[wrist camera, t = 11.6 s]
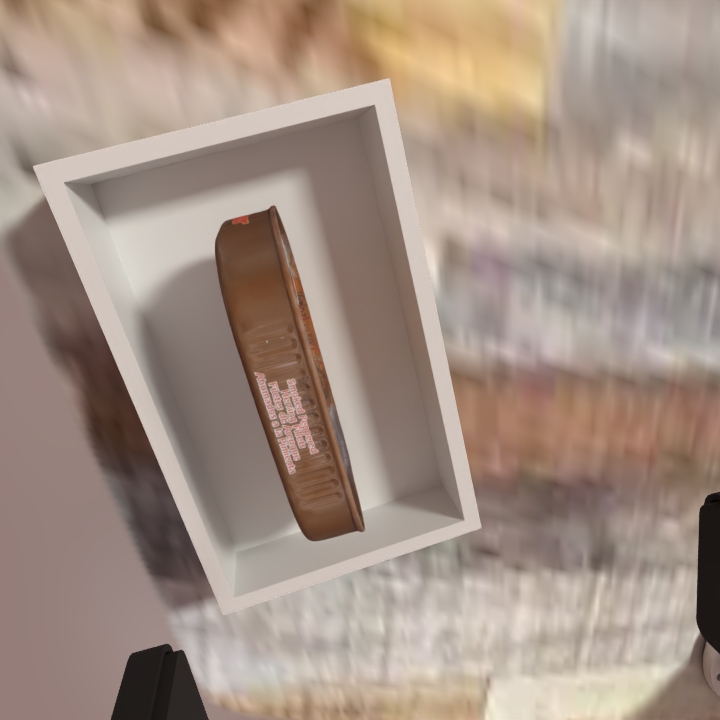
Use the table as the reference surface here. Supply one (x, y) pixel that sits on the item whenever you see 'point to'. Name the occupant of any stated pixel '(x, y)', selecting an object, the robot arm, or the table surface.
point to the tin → (287, 373)
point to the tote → (328, 313)
